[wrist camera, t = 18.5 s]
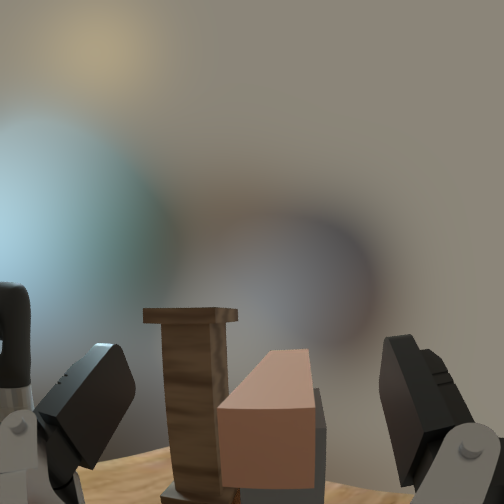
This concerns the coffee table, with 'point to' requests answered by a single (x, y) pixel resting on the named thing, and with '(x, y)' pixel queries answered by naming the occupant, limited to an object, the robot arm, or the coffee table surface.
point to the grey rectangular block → (298, 500)
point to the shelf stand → (194, 399)
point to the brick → (270, 425)
